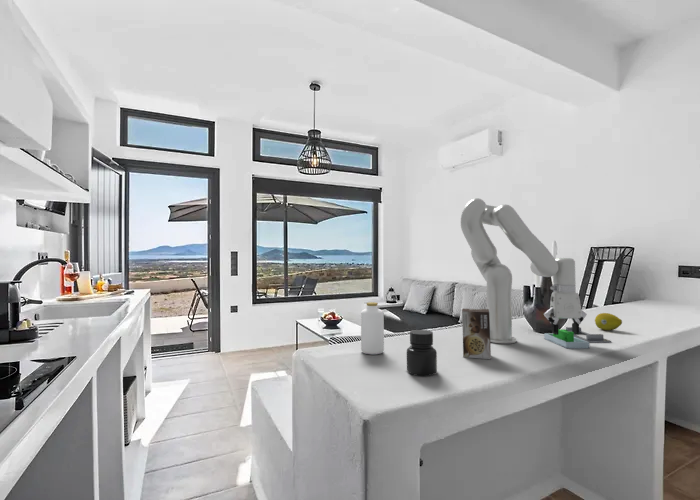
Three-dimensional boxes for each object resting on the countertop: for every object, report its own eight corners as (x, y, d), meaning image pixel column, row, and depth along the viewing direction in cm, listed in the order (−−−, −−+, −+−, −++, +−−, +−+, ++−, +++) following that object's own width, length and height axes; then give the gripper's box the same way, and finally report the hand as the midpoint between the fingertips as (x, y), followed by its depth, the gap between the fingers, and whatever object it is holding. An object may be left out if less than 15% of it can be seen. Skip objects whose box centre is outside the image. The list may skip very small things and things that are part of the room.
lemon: (590, 329, 166) (589, 312, 166) (601, 327, 169) (601, 311, 169) (614, 333, 156) (613, 315, 156) (625, 332, 159) (625, 314, 159)
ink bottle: (444, 373, 104) (443, 333, 105) (422, 379, 100) (422, 336, 100) (420, 365, 113) (420, 327, 113) (399, 370, 108) (399, 331, 108)
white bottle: (387, 350, 130) (386, 302, 131) (379, 356, 123) (378, 304, 123) (366, 348, 134) (365, 301, 134) (357, 354, 126) (357, 303, 127)
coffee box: (490, 354, 124) (489, 308, 124) (491, 359, 118) (490, 311, 118) (462, 352, 127) (462, 307, 127) (462, 357, 121) (461, 310, 121)
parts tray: (566, 348, 132) (566, 342, 132) (544, 338, 147) (544, 333, 147) (589, 348, 132) (589, 342, 132) (565, 338, 147) (565, 333, 147)
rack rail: (588, 342, 140) (588, 336, 140) (559, 332, 160) (559, 326, 160) (611, 342, 140) (611, 335, 140) (579, 331, 160) (579, 326, 160)
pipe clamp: (578, 345, 134) (578, 333, 134) (568, 345, 134) (567, 333, 134) (562, 338, 145) (562, 327, 145) (553, 338, 145) (552, 327, 145)
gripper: (547, 290, 136) (548, 336, 136) (592, 289, 136) (594, 336, 136) (537, 288, 144) (538, 332, 144) (580, 288, 143) (581, 331, 143)
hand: (565, 333), depth 140 cm, fingers open, 7 cm apart
